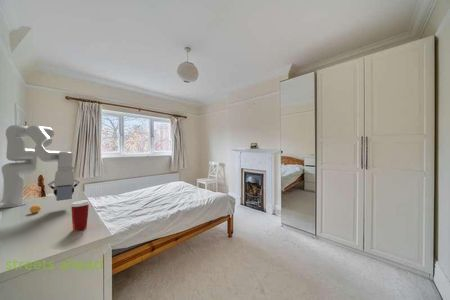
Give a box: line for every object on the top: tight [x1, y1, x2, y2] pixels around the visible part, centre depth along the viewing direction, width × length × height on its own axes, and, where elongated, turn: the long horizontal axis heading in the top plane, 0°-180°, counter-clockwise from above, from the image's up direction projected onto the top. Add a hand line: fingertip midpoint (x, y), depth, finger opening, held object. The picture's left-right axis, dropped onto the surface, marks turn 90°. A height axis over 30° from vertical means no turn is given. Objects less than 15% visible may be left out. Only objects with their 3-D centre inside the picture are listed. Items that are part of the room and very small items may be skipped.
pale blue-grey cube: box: [55, 185, 73, 202], centre depth 124 cm, size 8×8×9 cm
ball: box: [29, 204, 42, 214], centre depth 116 cm, size 5×5×5 cm
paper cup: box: [70, 199, 90, 232], centre depth 93 cm, size 8×8×14 cm
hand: (64, 194), depth 123 cm, fingers closed on pale blue-grey cube, 7 cm apart
